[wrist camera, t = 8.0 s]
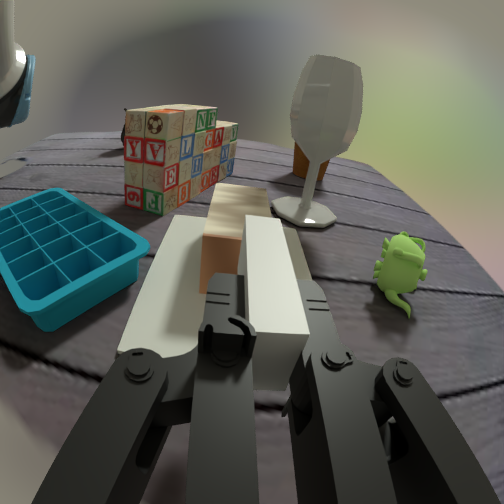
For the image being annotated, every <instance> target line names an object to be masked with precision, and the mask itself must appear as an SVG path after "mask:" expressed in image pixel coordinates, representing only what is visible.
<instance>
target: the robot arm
mask: <svg viewBox="0 0 504 504" xmlns="http://www.w3.org/2000/svg"><path fill="white" fill-rule="evenodd" d="M34 67H35V56H34V55H25V52H24V50H23V49H22V47H21V46H20V45H19V44H17V43H15V39H14V0H0V128H3V127H11V126H12V125H15V124H19V123H22V122H24V121H25V120H26V119H27V117H28V115H29V109H30V98H31V89H32V82H33V75H34ZM326 301H327V300H326V297H325V294H324V292H323V290H322V289H321V287H320V286H319V285H318V284H317V283H316V282H315V281H311V280H299V279H296V277H295V273H294V269H293V265H292V261H291V257H290V254H289V250H288V246H287V243H286V239H285V235H284V232H283V228H282V224H281V221H280V219H277V218H269V217H261V216H253V215H245V221H244V228H243V234H242V241H241V248H240V255H239V261H238V275H236V274H226V273H216V272H215V274H214V275H213V276H212V277H211V278H210V279H209V281H208V286H207V294H206V301H205V308H204V316H203V322H202V323H201V325H200V328H199V330H198V344H197V345H196V347H195V348H193V349H192V350H191V351H189V352H187V353H185V354H182V355H178V356H173V357H165V358H162V357H161V356H160V354H158V353H156V352H154V351H153V350H151V349H145V348H134V349H130V350H128V351H125V352H123V353H122V354H121V355H120V356H119V357H118V358H117V359H116V360H115V362H114V363H113V365H112V366H111V368H110V369H109V371H108V372H107V374H106V375H105V377H104V379H103V380H102V382H101V383H100V385H99V386H98V388H97V389H96V391H95V393H94V394H93V396H92V397H91V399H90V401H89V402H88V404H87V406H86V407H85V409H84V410H83V412H82V414H81V415H80V417H79V419H78V420H77V422H76V424H75V425H74V427H73V429H72V430H71V432H70V434H69V435H68V437H67V439H66V441H65V442H64V444H63V446H62V448H61V449H60V451H59V453H58V455H57V456H56V458H55V460H54V462H53V464H52V465H51V467H50V469H49V471H48V473H47V475H46V477H45V479H44V480H43V482H42V484H41V486H40V488H39V490H38V492H37V494H36V496H35V498H34V500H33V501H32V504H139V503H140V501H141V498H142V496H143V494H144V491H145V489H146V486H147V484H148V482H149V479H150V477H151V475H152V472H153V470H154V468H155V465H156V463H157V460H158V458H159V456H160V453H161V451H162V449H163V446H164V444H165V442H166V439H167V437H168V435H169V432H170V430H171V428H172V425H178V424H184V423H189V422H191V424H190V436H189V449H188V464H187V480H186V498H185V504H259V491H258V473H257V454H256V435H255V415H254V395H253V390H275V391H285V390H286V388H287V385H288V383H289V384H290V391H291V395H290V397H289V399H288V401H287V403H286V405H285V407H284V408H283V410H282V416H281V417H285V416H286V414H287V412H288V418H289V426H290V435H291V443H292V452H293V461H294V470H295V480H296V489H297V498H298V504H501V503H500V501H499V499H498V497H497V495H496V493H495V491H494V489H493V487H492V486H491V484H490V482H489V480H488V478H487V476H486V475H485V473H484V471H483V469H482V468H481V466H480V464H479V462H478V461H477V459H476V457H475V456H474V454H473V452H472V451H471V449H470V447H469V446H468V444H467V442H466V441H465V439H464V437H463V436H462V434H461V433H460V431H459V429H458V428H457V426H456V425H455V423H454V422H453V420H452V418H451V417H450V415H449V414H448V412H447V411H446V409H445V408H444V406H443V405H442V403H441V402H440V400H439V399H438V397H437V396H436V394H435V393H434V391H433V390H432V388H431V387H430V386H429V384H428V383H427V381H426V380H425V378H424V377H423V376H422V374H421V373H420V371H419V370H418V369H417V367H416V366H415V365H414V364H413V363H411V362H410V361H408V360H406V359H403V358H399V357H398V358H391V359H390V360H388V361H386V363H385V364H384V365H383V367H381V366H377V365H373V364H369V363H365V362H362V361H359V360H357V359H356V357H355V355H354V353H353V352H352V351H351V350H350V349H349V348H348V347H347V346H345V345H343V344H341V342H340V339H339V336H338V333H337V330H336V327H335V324H334V321H333V318H332V315H331V312H330V311H329V310H330V309H329V306H328V303H326ZM392 416H393V417H394V419H395V420H394V419H393V418H392Z"/></svg>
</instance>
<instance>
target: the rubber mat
mask: <svg viewBox="0 0 504 504" xmlns="http://www.w3.org/2000/svg"><path fill="white" fill-rule="evenodd" d="M206 220H207V218H202V217H193V216H184V215H175V216H174V218H173V220H172V222H171V224H170V226H169V228H168V230H167V232H166V234H165V237H164V239H163V241H162V243H161V245H160V247H159V249H158V252H157V254H156V256H155V258H154V260H153V263H152V265H151V267H150V269H149V272H148V274H147V276H146V279H145V281H144V283H143V286H142V288H141V290H140V293H139V295H138V298H137V300H136V302H135V305H134V307H133V310H132V312H131V315H130V317H129V320H128V323H127V325H126V328H125V330H124V333H123V336H122V338H121V341H120V344H119V346H118V349H117V351H118V354H122V353H123V352H125V351H128V350H130V349H134V348H145V349H151V350H153V351H154V352H156V353H158V354H160V356H161V357H162V358H165V357H173V356H178V355H182V354H185V353H187V352H189V351H191V350H192V349H193V348H195V347H196V345H197V344H198V330H199V328H200V325H201V323H202V322H203V316H204V308H205V301H206V294H202V293H199V285H200V267H201V251H202V236H203V232H204V228H205V224H206ZM282 228H283V232H284V235H285V239H286V243H287V246H288V250H289V254H290V257H291V261H292V265H293V269H294V273H295V277H296V279H299V280H311V281H312V278H311V274H310V271H309V268H308V265H307V262H306V259H305V256H304V252H303V249H302V246H301V243H300V240H299V237H298V234H297V231H296V229H293V228H286V227H282Z"/></svg>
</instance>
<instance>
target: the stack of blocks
mask: <svg viewBox="0 0 504 504" xmlns="http://www.w3.org/2000/svg"><path fill="white" fill-rule="evenodd" d="M217 112H218V108H216V107H207V106H196V105H185V104H177V105H163V106H157V107H148V108H140V109H133V110H127V111H126V123H125V136H124V160H125V161H124V169H125V186H124V187H125V205H127V206H130V207H134V208H137V209H141V210H145V211H148V212H151V213H155V214H158V215H161V216H164V215H166V214H167V213H169V212H170V211H172V210H174V209H175V208H177V207H179V206H181V205H182V204H184V203H186V202H187V201H189V200H190V199H192V198H194V197H195V196H197V195H199V194H200V193H201V192H202V191H204V190H205V189H207V188H209V187H210V186H212V185H213V184H215V183H217V182H219V181H220V180H222V179H224V178H225V177H227V176H229V175H231V174H232V173H233V165H234V157H235V151H236V144H237V141H236V139H237V131H238V124H237V123H231V122H225V121H217Z"/></svg>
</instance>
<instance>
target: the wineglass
mask: <svg viewBox="0 0 504 504" xmlns="http://www.w3.org/2000/svg"><path fill="white" fill-rule="evenodd" d="M362 95H363V82H362V75H361V69H360V67H359V66H357V65H355V64H354V63H352V62H349V61H346V60H342V59H340V58H337V57H331V56H324V55H314V56H310V58H309V60H308V62H307V63H306V65H305V67H304V69H303V70H302V73H301V76H300V78H299V81H298V84H297V87H296V90H295V92H294V95H293V102H292V107H291V113H290V120H291V133H292V138H293V139H294V140H295V142H296V143H297V144H298V146H299V147H300V148H301V150H302V151H303V153H304V154H305V155H306V157H307V158H308V160H309V161H310V163H309V168H308V172H307V176H306V181H305V185H304V189H303V194H302V198H298V197H288V196H286V197H282V198H279V199H275V200H272V201H271V205H272V207H273V209H274V211H275V212H276V214H277V216H279V217H281V218H283V219H285V220H287V221H289V222H291V223H293V224H295V225H297V226H302V227H316V228H325V227H327V226H329V225H331V224H333V223H335V222H336V220H337V217H336V216H335V215H334V214H333V213H332V212H331V211H330V210H329V209H328V208H327V207H326V206H323V205H321V204H319V203H317V202H314V201H312V198H313V194H314V189H315V185H316V181H317V177H318V172H319V168H320V164H322V163H323V162H325V161H327V160H329V159H331V158H333V157H335V156H337V155H339V154H341V153H343V152H345V151H347V149H348V147H349V146H350V144H351V142H352V140H353V138H354V136H355V135H356V133H357V131H358V126H359V122H360V117H361V113H362V97H363V96H362Z"/></svg>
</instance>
